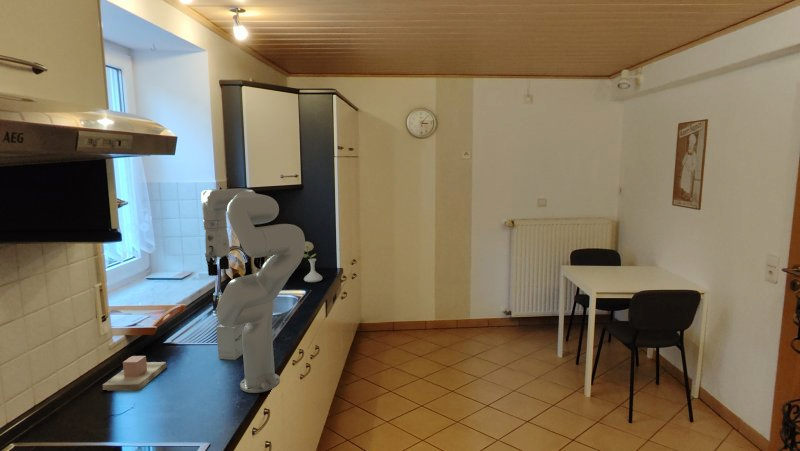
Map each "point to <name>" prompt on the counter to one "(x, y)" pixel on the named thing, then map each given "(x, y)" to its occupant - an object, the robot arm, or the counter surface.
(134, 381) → the chopping board
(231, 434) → the counter surface
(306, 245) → the flower in vase
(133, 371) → the terracotta cube
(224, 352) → the supplement box
